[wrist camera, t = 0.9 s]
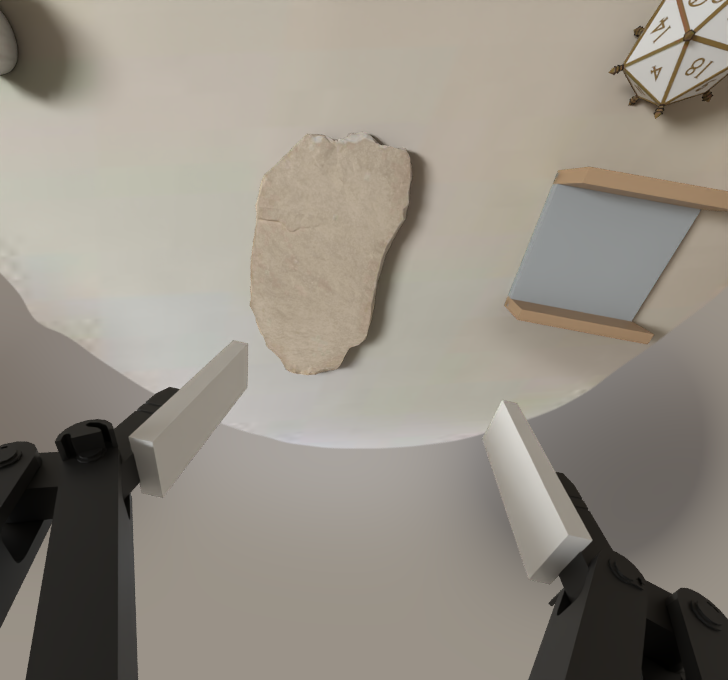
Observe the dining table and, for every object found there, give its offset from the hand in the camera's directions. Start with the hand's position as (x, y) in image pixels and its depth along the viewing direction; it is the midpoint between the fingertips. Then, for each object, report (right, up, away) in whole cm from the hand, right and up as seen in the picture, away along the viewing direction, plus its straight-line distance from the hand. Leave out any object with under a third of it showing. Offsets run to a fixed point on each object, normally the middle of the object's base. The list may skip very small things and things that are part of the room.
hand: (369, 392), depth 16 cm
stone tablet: (-6, +12, +22) cm, 25 cm away
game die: (+24, +27, +10) cm, 37 cm away
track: (+25, +12, +17) cm, 33 cm away
